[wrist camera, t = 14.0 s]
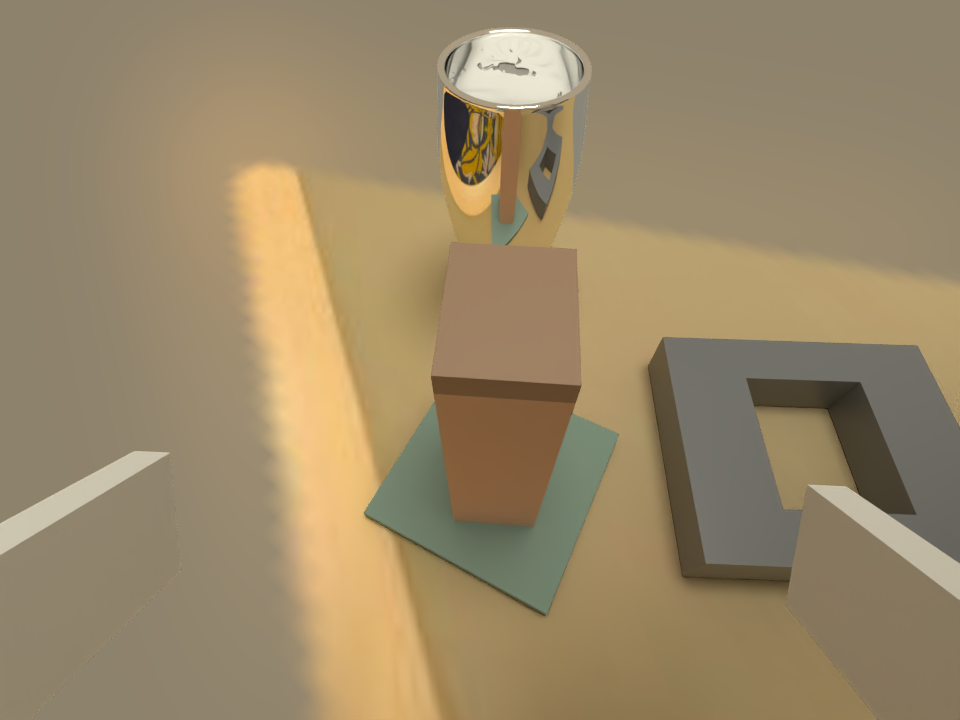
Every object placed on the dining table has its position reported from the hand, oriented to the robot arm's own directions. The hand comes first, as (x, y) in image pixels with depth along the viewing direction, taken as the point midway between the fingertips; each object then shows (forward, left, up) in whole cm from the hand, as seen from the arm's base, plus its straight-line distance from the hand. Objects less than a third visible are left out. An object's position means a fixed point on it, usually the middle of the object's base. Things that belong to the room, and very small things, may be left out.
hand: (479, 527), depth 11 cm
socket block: (-12, -14, -15) cm, 24 cm away
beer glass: (+8, -18, -16) cm, 25 cm away
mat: (+2, -6, -15) cm, 17 cm away
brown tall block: (+2, -6, -15) cm, 16 cm away
